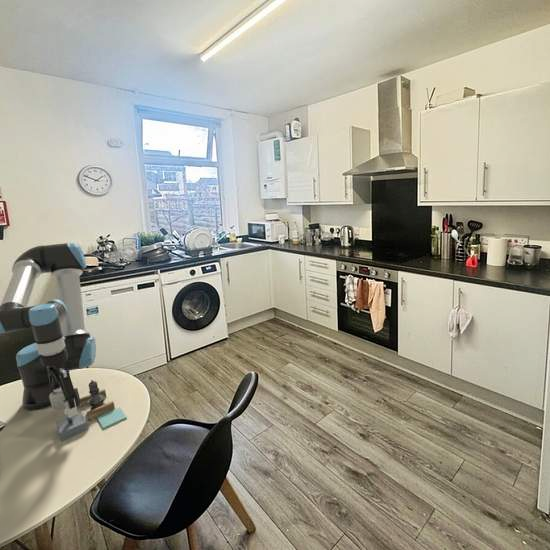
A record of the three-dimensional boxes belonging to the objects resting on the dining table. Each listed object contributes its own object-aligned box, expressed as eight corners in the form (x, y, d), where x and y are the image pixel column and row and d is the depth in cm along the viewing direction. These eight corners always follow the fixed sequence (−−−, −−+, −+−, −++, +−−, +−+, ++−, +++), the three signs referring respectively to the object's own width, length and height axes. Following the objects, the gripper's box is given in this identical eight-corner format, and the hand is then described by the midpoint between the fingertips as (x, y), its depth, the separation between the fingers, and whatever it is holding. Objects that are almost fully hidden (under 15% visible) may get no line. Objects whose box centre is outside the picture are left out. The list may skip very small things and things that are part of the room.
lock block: (57, 429, 119) (55, 421, 119) (82, 418, 124) (80, 411, 123) (61, 441, 113) (59, 433, 113) (87, 429, 118) (86, 421, 118)
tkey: (56, 425, 116) (48, 396, 113) (58, 421, 118) (50, 392, 115) (82, 419, 118) (75, 391, 115) (84, 416, 120) (77, 388, 117)
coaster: (97, 418, 124) (96, 417, 124) (119, 408, 129) (119, 407, 129) (103, 429, 118) (102, 427, 118) (126, 418, 123) (126, 416, 123)
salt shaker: (99, 413, 127) (93, 384, 124) (85, 411, 128) (79, 383, 125) (109, 403, 132) (103, 376, 129) (96, 402, 134) (90, 375, 130)
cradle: (81, 405, 132) (79, 398, 131) (105, 395, 138) (104, 388, 137) (89, 420, 123) (87, 413, 122) (115, 409, 128) (113, 402, 128)
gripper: (78, 355, 107) (92, 415, 113) (53, 338, 120) (66, 393, 126) (52, 365, 101) (68, 428, 107) (28, 346, 115) (44, 404, 121)
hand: (67, 409), depth 117 cm, fingers open, 9 cm apart
